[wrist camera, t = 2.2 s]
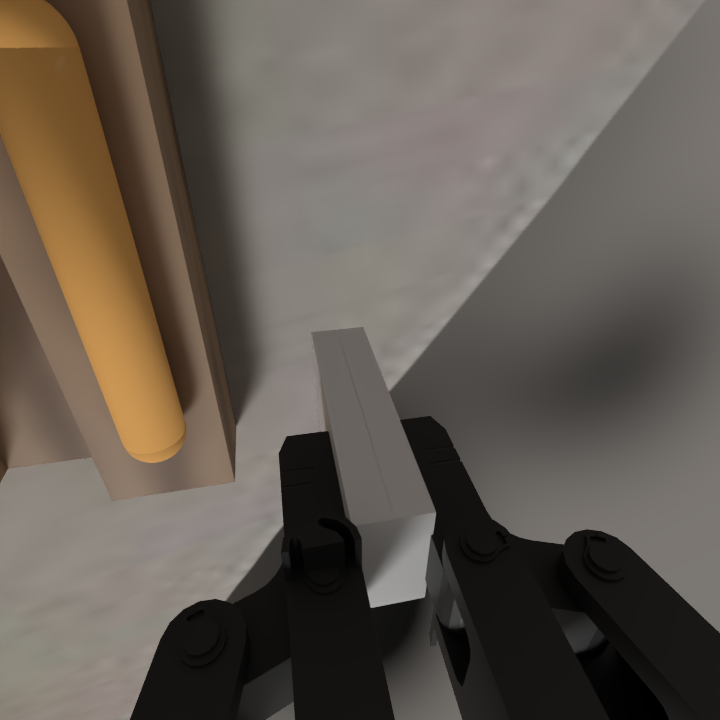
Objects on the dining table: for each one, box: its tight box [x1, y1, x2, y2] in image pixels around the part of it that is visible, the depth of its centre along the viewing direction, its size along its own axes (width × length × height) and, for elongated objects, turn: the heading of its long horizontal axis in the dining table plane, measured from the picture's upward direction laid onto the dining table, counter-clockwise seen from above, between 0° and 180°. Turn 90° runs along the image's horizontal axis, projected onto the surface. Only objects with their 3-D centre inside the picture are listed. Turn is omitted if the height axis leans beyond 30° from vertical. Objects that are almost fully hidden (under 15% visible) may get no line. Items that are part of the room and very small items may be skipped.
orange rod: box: [0, 0, 186, 463], centre depth 19 cm, size 3×19×3 cm, turn 0°
